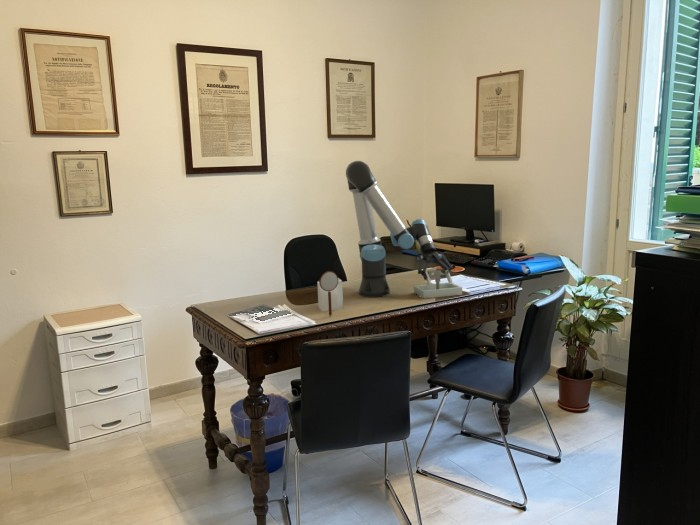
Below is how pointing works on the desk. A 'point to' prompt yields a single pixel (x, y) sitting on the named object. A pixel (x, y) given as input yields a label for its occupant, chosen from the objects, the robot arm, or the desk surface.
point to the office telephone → (260, 309)
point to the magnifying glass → (328, 285)
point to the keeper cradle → (438, 290)
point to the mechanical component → (437, 276)
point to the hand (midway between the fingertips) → (440, 283)
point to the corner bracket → (335, 297)
